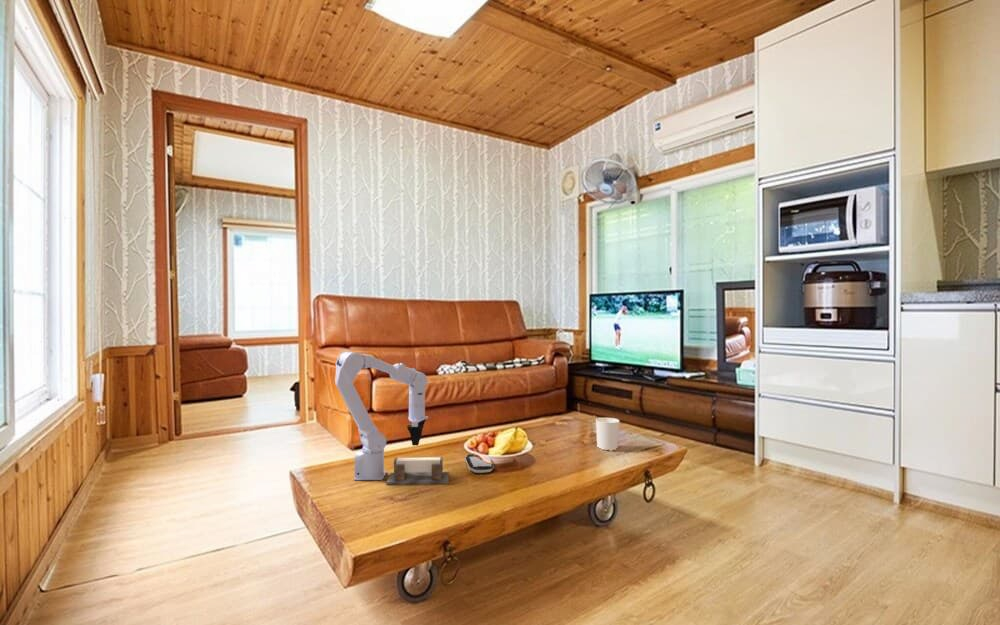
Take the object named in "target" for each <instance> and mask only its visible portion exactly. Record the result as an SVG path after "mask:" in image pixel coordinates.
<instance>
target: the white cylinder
mask: <svg viewBox="0 0 1000 625" xmlns="http://www.w3.org/2000/svg"><path fill="white" fill-rule="evenodd" d="M620 423H621V422H620V419H618V418H616V417H598V418H597V417H596V418H595V430H596V434H595V435H596V447H599V448H601V449H607V450H608V449H609V450H610V449H616V448H618V449H619V437H620V435H619V433H620V432H619V431H620Z"/></svg>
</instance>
